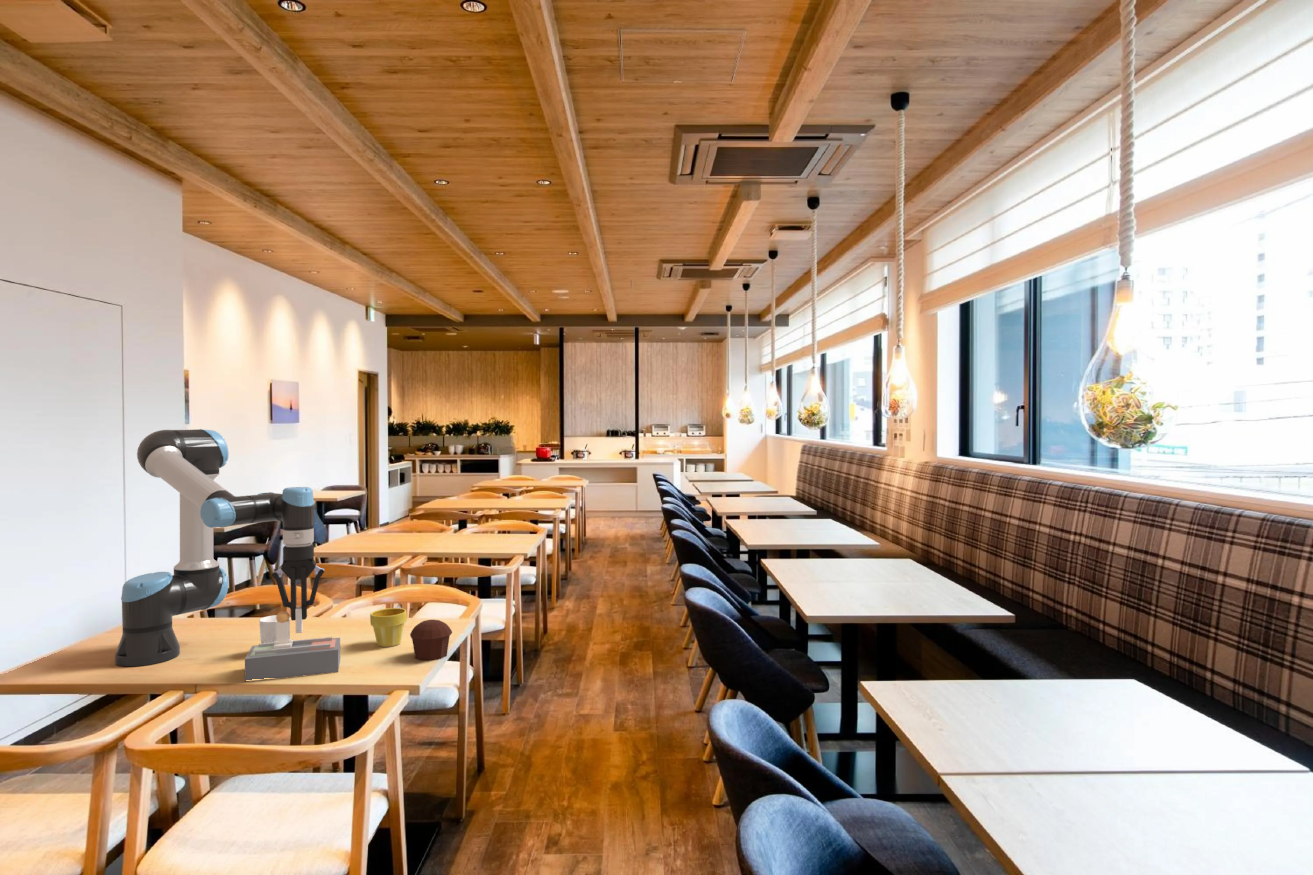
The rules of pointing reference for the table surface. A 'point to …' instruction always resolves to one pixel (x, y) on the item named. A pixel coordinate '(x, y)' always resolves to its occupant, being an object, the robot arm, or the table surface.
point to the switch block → (293, 659)
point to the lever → (283, 631)
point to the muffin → (430, 640)
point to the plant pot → (388, 626)
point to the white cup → (268, 629)
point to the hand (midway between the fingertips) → (299, 631)
